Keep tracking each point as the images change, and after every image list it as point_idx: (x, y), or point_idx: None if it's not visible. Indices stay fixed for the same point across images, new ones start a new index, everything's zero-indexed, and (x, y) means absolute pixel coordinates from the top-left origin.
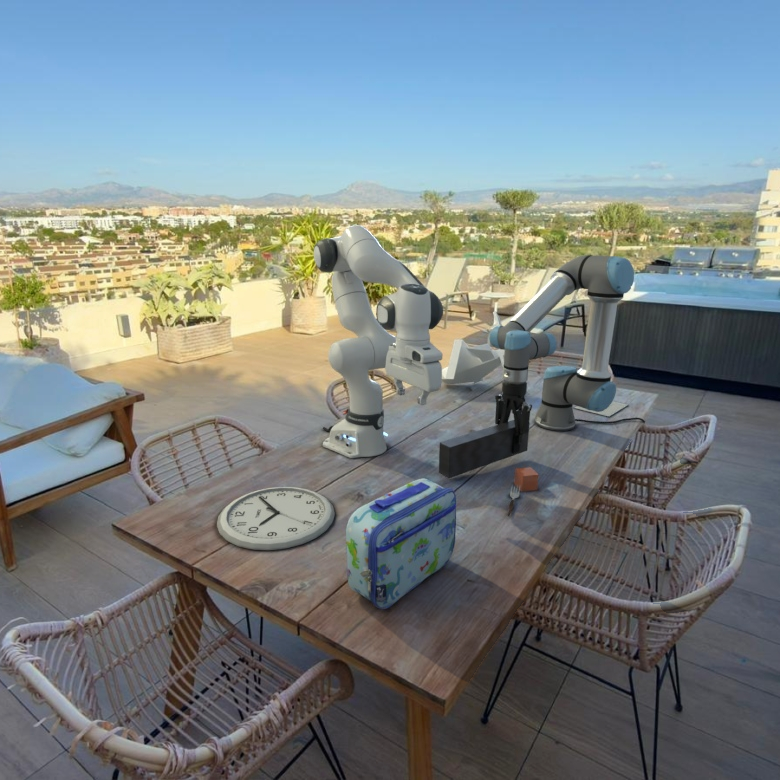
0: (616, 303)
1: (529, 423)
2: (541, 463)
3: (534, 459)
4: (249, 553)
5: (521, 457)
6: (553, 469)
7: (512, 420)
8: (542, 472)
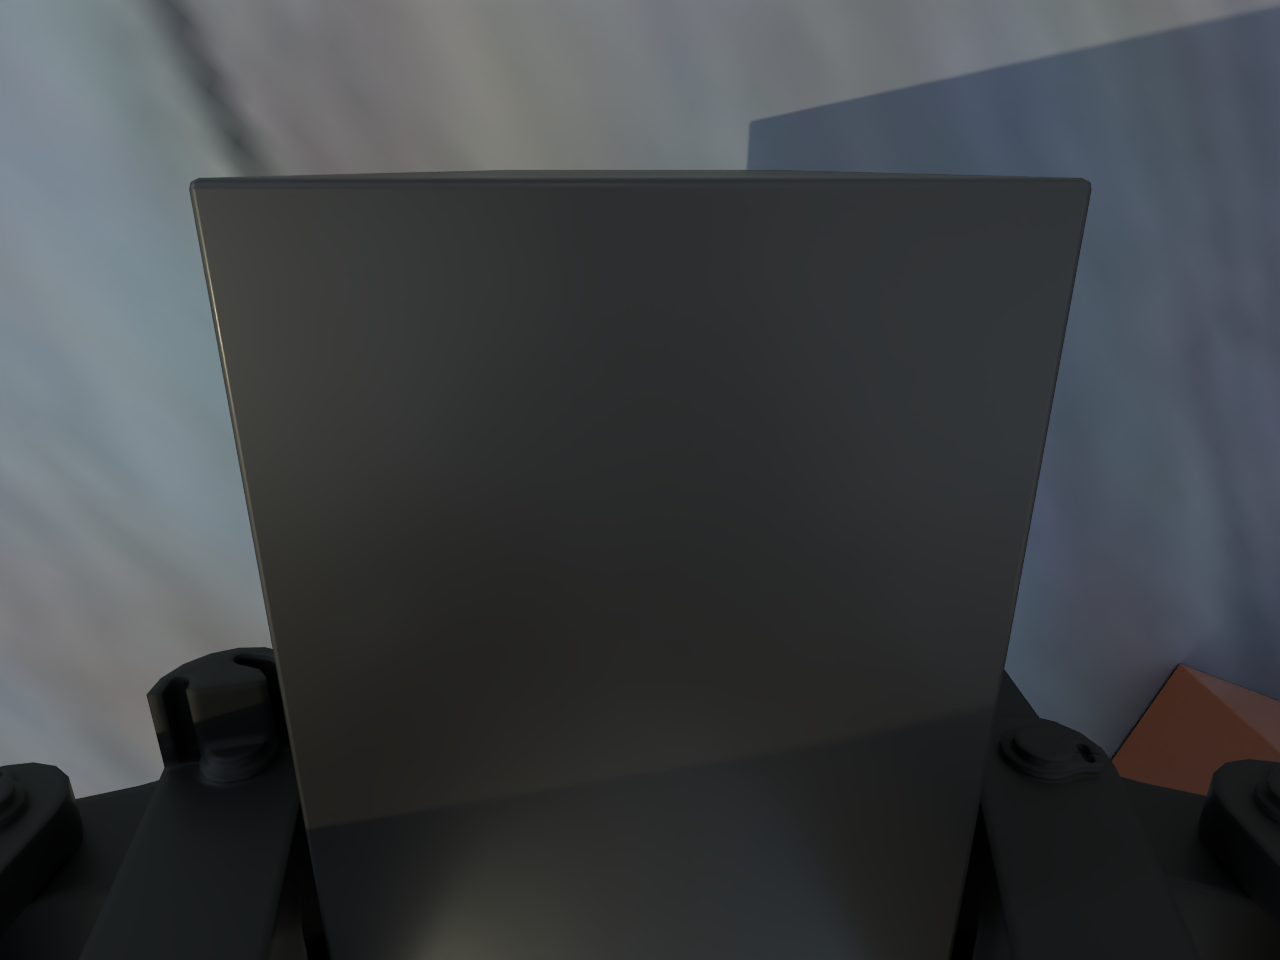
0: None
1: (1054, 182)
2: (980, 37)
3: (809, 8)
4: None
5: (628, 147)
6: (1239, 54)
7: (308, 729)
8: (1163, 301)
